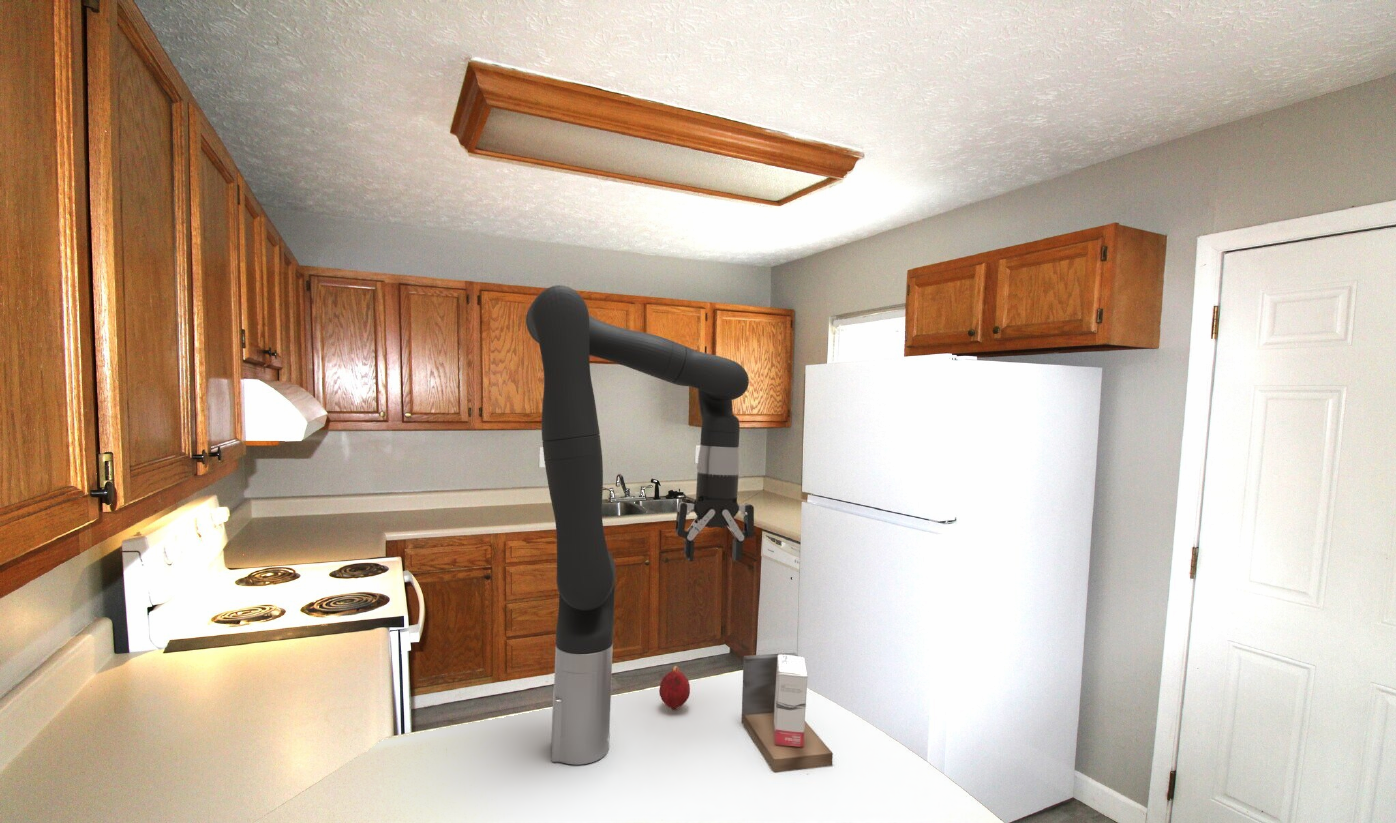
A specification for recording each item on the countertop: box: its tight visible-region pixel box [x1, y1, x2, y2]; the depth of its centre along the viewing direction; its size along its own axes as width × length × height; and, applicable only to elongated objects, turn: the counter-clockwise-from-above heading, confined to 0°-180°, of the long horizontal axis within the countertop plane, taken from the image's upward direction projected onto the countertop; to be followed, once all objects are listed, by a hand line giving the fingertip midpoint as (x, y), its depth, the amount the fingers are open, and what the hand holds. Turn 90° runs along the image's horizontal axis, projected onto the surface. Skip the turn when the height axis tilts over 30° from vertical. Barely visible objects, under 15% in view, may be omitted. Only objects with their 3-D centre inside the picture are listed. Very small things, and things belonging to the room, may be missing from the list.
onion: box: [658, 665, 691, 711], centre depth 115 cm, size 6×6×8 cm
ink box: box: [774, 653, 809, 747], centre depth 103 cm, size 9×5×12 cm, turn 174°
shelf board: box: [740, 652, 834, 773], centre depth 104 cm, size 10×16×12 cm, turn 14°
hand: (713, 560), depth 111 cm, fingers open, 8 cm apart
